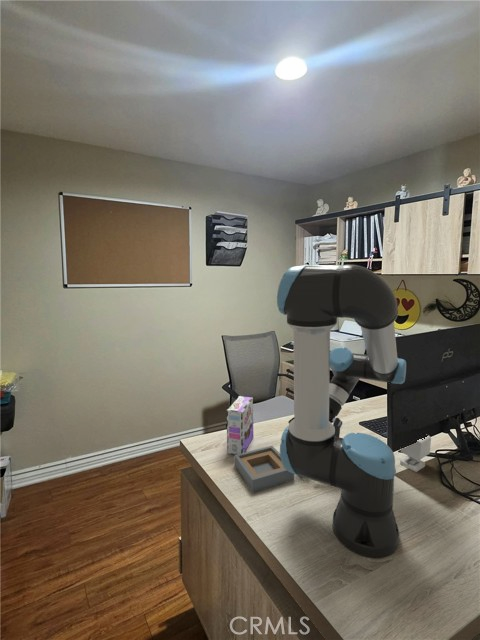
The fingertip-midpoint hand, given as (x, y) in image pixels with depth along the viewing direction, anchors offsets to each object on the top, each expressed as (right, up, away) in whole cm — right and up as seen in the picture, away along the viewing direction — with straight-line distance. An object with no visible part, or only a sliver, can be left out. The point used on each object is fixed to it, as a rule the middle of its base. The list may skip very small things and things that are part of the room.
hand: (298, 456), depth 105 cm
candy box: (-18, -3, +16) cm, 24 cm away
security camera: (+38, -4, +3) cm, 39 cm away
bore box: (-11, -5, 0) cm, 12 cm away
